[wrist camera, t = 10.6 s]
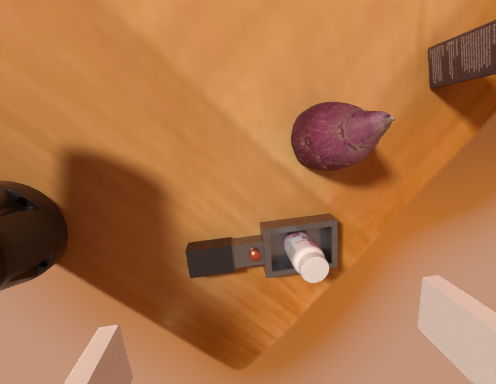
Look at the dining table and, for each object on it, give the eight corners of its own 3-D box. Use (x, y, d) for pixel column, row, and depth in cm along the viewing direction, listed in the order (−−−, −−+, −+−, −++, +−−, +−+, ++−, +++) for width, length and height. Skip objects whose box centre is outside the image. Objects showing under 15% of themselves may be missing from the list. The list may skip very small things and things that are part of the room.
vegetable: (315, 96, 39) (383, 33, 25) (358, 140, 40) (448, 106, 26) (273, 141, 38) (319, 103, 23) (319, 186, 39) (391, 178, 24)
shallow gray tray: (194, 278, 41) (191, 289, 38) (186, 231, 39) (183, 240, 36) (329, 258, 43) (338, 268, 40) (329, 213, 41) (338, 220, 38)
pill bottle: (312, 230, 41) (334, 254, 33) (308, 255, 42) (329, 285, 34) (284, 229, 40) (300, 254, 32) (281, 255, 41) (296, 286, 33)
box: (455, 81, 38) (559, 59, 26) (428, 89, 38) (520, 70, 26) (454, 39, 36) (563, -4, 25) (426, 46, 36) (523, 6, 25)
